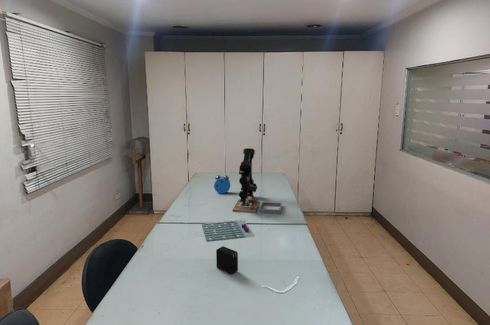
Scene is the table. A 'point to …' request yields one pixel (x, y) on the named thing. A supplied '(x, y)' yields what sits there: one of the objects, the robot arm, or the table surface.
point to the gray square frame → (270, 209)
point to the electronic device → (227, 260)
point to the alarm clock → (222, 184)
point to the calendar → (226, 230)
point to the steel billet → (246, 202)
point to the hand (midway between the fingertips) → (245, 202)
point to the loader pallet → (251, 208)
